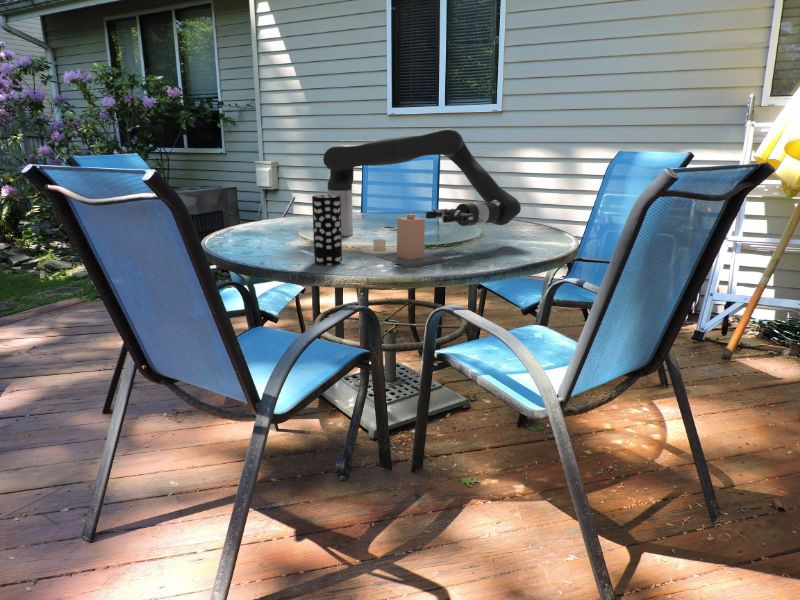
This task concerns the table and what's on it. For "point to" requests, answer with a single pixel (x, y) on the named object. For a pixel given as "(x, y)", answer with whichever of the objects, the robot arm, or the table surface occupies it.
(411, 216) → the tan capped carton
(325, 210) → the spotted tube
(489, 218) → the robot arm
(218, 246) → the table surface
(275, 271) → the table surface
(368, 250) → the saucer
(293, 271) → the table surface
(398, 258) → the mat
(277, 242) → the table surface
